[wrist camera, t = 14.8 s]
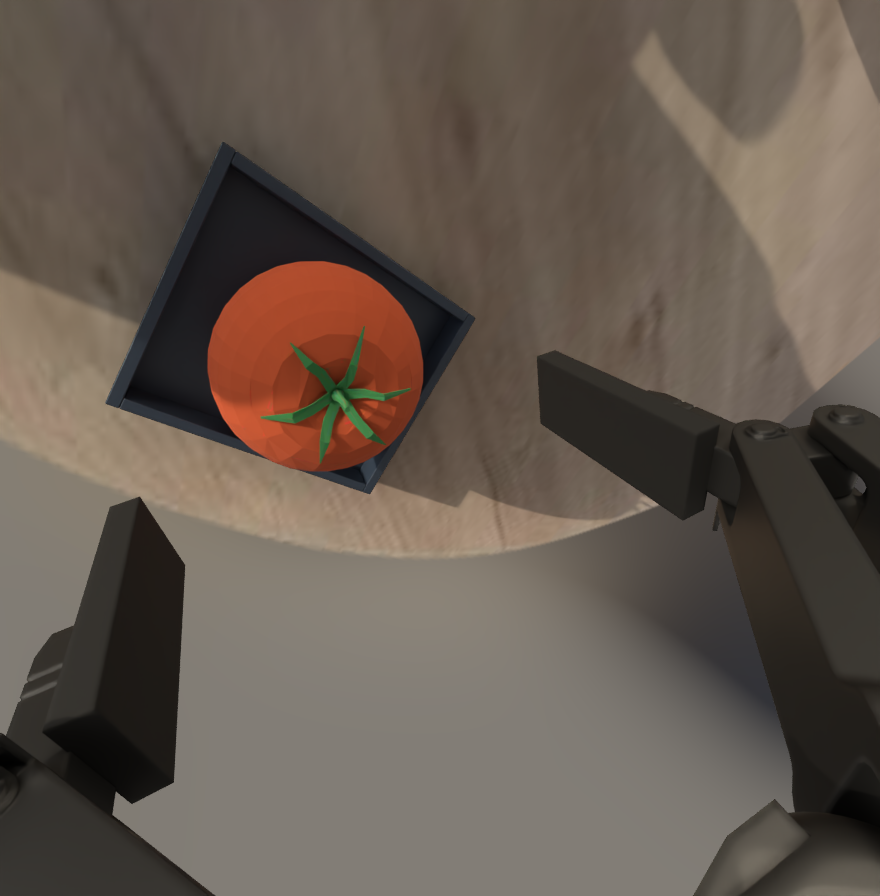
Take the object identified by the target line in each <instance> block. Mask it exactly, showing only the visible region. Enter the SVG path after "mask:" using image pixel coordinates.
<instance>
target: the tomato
mask: <svg viewBox="0 0 880 896" xmlns="http://www.w3.org/2000/svg"><path fill="white" fill-rule="evenodd" d="M208 376H209V381H210V386H211V391H212V394H213V397H214V399H215V401H216V404H217V406H218V408H219V410H220V413H221V415H222V417H223V419H224V420H225V421H226V423H227V424H228V425H229V427H230V428H231V430H232V431H233V432H234V434H235V435H236V436H237V437H238V438H240V439H241V440H242V441H243V442H244V443H245V444H246V445H247V446H248V447H250V448H251V449H252V450H254V451H256V452H257V453H259V454H261V455H262V456H264V457H266V458H267V459H269V460H271V461H272V462H275V463H277V464H280V465H283V466H286V467H288V468H292V469H298V470H304V471H332V470H338V469H344V468H348V467H351V466H354V465H357V464H360V463H362V462H365V461H367V460H368V459H370V458H372V457H374V456H376V455H377V454H379V453H380V452H381V451H383V450H384V449H385V448H386V447H388V446H389V445H390V444H391V443H392V442H393V441H394V440H395V439H396V438H397V437H398V436H399V435H400V433H401V432H402V431H403V430H404V428H405V427H406V425H407V423H408V422H409V420H410V419H411V417H412V415H413V413H414V411H415V408H416V406H417V404H418V401H419V399H420V394H421V389H422V384H423V359H422V353H421V348H420V342H419V338H418V336H417V333H416V330H415V328H414V325H413V323H412V321H411V319H410V318H409V316H408V314H407V313H406V311H405V310H404V308H403V307H402V305H401V304H400V303H399V302H398V301H397V300H396V299H395V298H394V297H393V296H392V295H391V294H390V293H389V292H388V291H387V290H386V289H385V288H384V287H383V286H382V285H381V284H379V283H378V282H376V281H375V280H374V279H372V278H371V277H369V276H368V275H366V274H364V273H362V272H360V271H357V270H355V269H352V268H350V267H348V266H345V265H340V264H335V263H330V262H325V261H300V262H294V263H290V264H285V265H281V266H277V267H274V268H272V269H270V270H268V271H266V272H264V273H261V274H259V275H257V276H256V277H254V278H253V279H252V280H250V281H249V282H248V283H246V284H245V285H244V286H242V287H241V288H240V289H239V290H238V291H237V292H236V293H235V295H234V296H233V297H232V298H231V299H230V301H229V302H228V303H227V304H226V305H225V307H224V308H223V310H222V312H221V314H220V316H219V318H218V320H217V322H216V324H215V326H214V328H213V332H212V335H211V339H210V343H209V347H208Z"/></svg>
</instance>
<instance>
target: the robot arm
mask: <svg viewBox="0 0 880 896" xmlns="http://www.w3.org/2000/svg"><path fill="white" fill-rule="evenodd" d="M537 368H538V386H539V404H540V422H541V424H542V425H544V426H545V427H547V428H548V429H549V430H551V431H552V432H554V433H555V434H557V435H558V436H560V437H561V438H563V439H564V440H566V441H567V442H568V443H570V444H571V445H573V446H574V447H576V448H577V449H579V450H580V451H582V452H583V453H585V454H586V455H588V456H589V457H590V458H592V459H593V460H595V461H596V462H598V463H599V464H601V465H602V466H604V467H605V468H607V469H608V470H609V471H611V472H612V473H614V474H615V475H617V476H618V477H620V478H621V479H623V480H624V481H626V482H627V483H629V484H630V485H631V486H633V487H634V488H636V489H637V490H639V491H640V492H642V493H643V494H645V495H646V496H648V497H649V498H650V499H652V500H653V501H655V502H656V503H658V504H659V505H661V506H662V507H664V508H665V509H667V510H668V511H670V512H671V513H672V514H674V515H676V516H677V517H678V518H680V519H681V520H685V519H687V518H689V517H690V516H693V515H694V514H696V513H698V512H700V511H702V510H704V506H705V501H706V496H707V492H709V493H711V494H712V495H714V496H716V497H717V498H718V503H717V507H716V512H715V517H714V522H713V531H717V529H718V525H719V524H720V523H721V525H722V528H723V532H724V535H725V539H726V542H727V545H728V549H729V552H730V555H731V559H732V562H733V566H734V569H735V572H736V576H737V579H738V582H739V586H740V589H741V592H742V596H743V599H744V603H745V606H746V609H747V613H748V616H749V620H750V623H751V626H752V630H753V633H754V636H755V640H756V643H757V647H758V650H759V653H760V657H761V660H762V663H763V666H764V670H765V673H766V677H767V680H768V683H769V687H770V690H771V694H772V697H773V701H774V704H775V707H776V710H777V714H778V717H779V721H780V724H781V728H782V731H783V734H784V738H785V741H786V744H787V748H788V751H789V754H790V759H791V763H792V771H793V776H792V777H793V778H792V795H793V804H794V809H795V812H793V813H787V812H786V811H785V810H784V808H783V807H782V806H781V805H780V804H779V803H778V802H777V801H776V800H775V799H774V800H773V801H772V802H771V803H769V804H768V805H767V806H765V807H764V808H763V809H761V810H760V811H759V812H758V813H757V814H755V815H754V816H752V817H751V818H750V819H749V820H747V821H746V822H745V823H743V824H742V825H741V826H740V827H738V828H737V829H736V830H734V831H733V832H732V833H731V834H729V835H728V836H727V837H726V839H725V841H724V842H723V844H722V846H721V848H720V849H719V851H718V853H717V855H716V856H715V858H714V860H713V862H712V864H711V865H710V867H709V869H708V870H707V872H706V874H705V876H704V878H703V880H702V881H701V883H700V885H699V886H698V888H697V890H696V892H695V893H694V895H693V896H880V418H879V417H878V416H876V415H875V414H873V413H870V412H868V411H866V410H864V409H860V408H857V407H855V406H850V405H847V406H845V405H827V406H823V407H819V408H818V409H816V410H815V411H814V412H813V416H812V419H811V422H810V425H808V426H802V427H797V428H792V429H789V428H787V427H785V426H783V425H781V424H779V423H775V422H771V421H767V420H746V421H743V422H740V423H737V424H735V423H733V422H730V421H728V420H726V419H723V418H721V417H719V416H716V415H714V414H712V413H709V412H707V411H705V410H703V409H700V408H698V407H695V408H694V407H693V405H691V404H689V403H686V402H682V401H681V400H679V399H677V398H675V397H672V396H670V395H668V394H664V393H659V392H654V391H649V390H648V391H645V390H643V389H640V388H638V387H636V386H634V385H631V384H629V383H627V382H625V381H622V380H620V379H618V378H616V377H614V376H611V375H609V374H607V373H605V372H602V371H600V370H598V369H596V368H593V367H591V366H589V365H587V364H584V363H582V362H580V361H578V360H575V359H573V358H571V357H569V356H566V355H564V354H562V353H560V352H558V351H555V350H554V351H552V352H549V353H546V354H543V355H540V356H537ZM858 476H859V477H861V478H862V480H863V481H864V483H865V485H866V487H867V488H866V490H865V492H864V493H863V494H862V493H860V492H859V491H858V490H857V489H856V488H855V487H854V486H855V484H856V481H857V479H858ZM184 578H185V564H184V563H183V561H182V560H181V558H180V557H179V555H178V554H177V552H176V551H175V549H174V548H173V546H172V545H171V543H170V542H169V540H168V539H167V537H166V535H165V534H164V532H163V531H162V530H161V528H160V526H159V525H158V523H157V522H156V520H155V519H154V518H153V516H152V514H151V513H150V511H149V510H148V508H147V507H146V505H145V504H144V502H143V501H142V499H141V498H140V497H137V498H135V499H132V500H129V501H126V502H123V503H120V504H118V505H115V506H112V507H110V509H109V512H108V515H107V519H106V522H105V525H104V528H103V532H102V535H101V538H100V542H99V545H98V548H97V552H96V555H95V558H94V561H93V565H92V568H91V571H90V575H89V578H88V581H87V585H86V588H85V591H84V595H83V598H82V601H81V604H80V608H79V611H78V614H77V618H76V621H75V624H74V626H71V627H69V628H66V629H64V630H61V631H59V632H57V633H54V634H52V635H51V637H50V638H49V639H48V641H47V642H46V643H45V645H44V646H43V647H42V649H41V650H40V651H39V652H38V654H37V655H36V657H35V658H34V661H33V664H32V666H31V669H30V672H29V674H28V677H27V681H28V683H26V684H25V685H24V688H23V691H22V694H21V696H20V698H21V701H20V702H18V704H17V707H16V710H15V713H14V715H13V718H12V721H11V723H10V726H9V729H8V732H7V734H6V736H5V735H4V734H2V733H0V896H215V895H214V894H212V893H211V892H210V891H209V890H207V889H206V888H205V887H204V886H202V885H201V884H200V883H198V882H197V881H196V880H195V879H193V878H192V877H191V876H189V875H188V874H187V873H186V872H185V871H183V870H182V869H181V868H179V867H178V866H177V865H176V864H174V863H173V862H172V861H170V860H169V859H168V858H167V857H165V856H164V855H163V854H162V853H160V852H159V851H157V849H155V848H154V847H153V846H152V845H150V844H149V843H148V842H146V841H145V840H144V839H143V838H141V837H140V836H139V835H137V834H136V833H135V832H134V831H132V830H131V829H130V828H129V827H127V826H126V825H125V824H124V823H122V822H121V821H120V820H118V819H117V818H116V817H114V816H113V815H112V813H113V806H114V799H115V793H116V792H117V793H119V794H120V795H121V796H123V797H124V798H125V799H126V800H127V801H129V802H130V803H131V804H133V803H135V802H137V801H139V800H141V799H142V798H144V797H146V796H148V795H150V794H152V793H154V792H156V791H158V790H160V789H162V788H164V787H166V786H168V785H170V784H172V783H173V782H174V768H175V749H176V730H177V729H176V728H177V711H178V710H177V709H178V692H179V673H180V653H181V634H182V616H183V615H182V614H183V597H184Z"/></svg>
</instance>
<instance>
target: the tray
mask: <svg viewBox="0 0 880 896" xmlns="http://www.w3.org/2000/svg"><path fill="white" fill-rule="evenodd" d="M300 261H325V262H330V263H335V264H340V265H345V266H348V267H350V268H352V269H355V270H357V271H360V272H362V273H364V274H366V275H368V276H369V277H371V278H372V279H374V280H375V281H376V282H378V283H379V284H381V285H382V286H383V287H384V288H385V289H386V290H387V291H388V292H389V293H390V294H391V295H392V296H393V297H394V298H395V299H396V300H397V301H398V302H399V303H400V304H401V305H402V307H403V308H404V310H405V311H406V313H407V314H408V316H409V318H410V319H411V321H412V323H413V325H414V328H415V330H416V333H417V336H418V338H419V342H420V348H421V353H422V359H423V384H422V389H421V394H420V399H419V401H418V404H417V406H416V408H415V411H414V413H413V415H412V417H411V419H410V420H409V422H408V423H407V425H406V427H405V428H404V430H403V431H402V432H401V433H400V435H399V436H398V437H397V438H396V439H395V440H394V441H393V442H392V443H391V444H390V445H389V446H388V447H386V448H385V449H384V450H383V451H381V452H380V453H379V454H377V455H376V456H374V457H372V458H370V459H368V460H367V461H365V462H362V463H360V464H357V465H354V466H351V467H348V468H344V469H338V470H332V471H304V470H300V471H303V472H306V473H309V474H312V475H315V476H318V477H321V478H324V479H326V480H329V481H332V482H335V483H338V484H341V485H344V486H347V487H350V488H353V489H356V490H359V491H361V492H364V493H367V494H370V493H371V492H372V490H373V488H374V487H375V485H376V483H377V482H378V480H379V478H380V477H381V475H382V473H383V472H384V470H385V468H386V467H387V465H388V463H389V462H390V460H391V458H392V457H393V455H394V453H395V452H396V450H397V448H398V447H399V445H400V443H401V442H402V440H403V438H404V437H405V435H406V433H407V432H408V430H409V428H410V427H411V425H412V423H413V422H414V420H415V418H416V417H417V415H418V413H419V412H420V410H421V409H422V407H423V405H424V404H425V402H426V400H427V399H428V397H429V395H430V394H431V392H432V390H433V389H434V387H435V385H436V384H437V382H438V380H439V379H440V377H441V375H442V374H443V372H444V370H445V369H446V367H447V365H448V364H449V362H450V360H451V359H452V357H453V355H454V354H455V352H456V350H457V349H458V347H459V345H460V344H461V342H462V340H463V339H464V337H465V335H466V334H467V332H468V330H469V329H470V327H471V325H472V324H473V322H474V320H475V317H473V316H472V315H470V314H469V313H467V312H466V311H465V310H463V309H462V308H460V307H459V306H457V305H456V304H455V303H453V302H452V301H450V300H449V299H447V298H446V297H445V296H443V295H442V294H440V293H439V292H437V291H436V290H435V289H433V288H432V287H430V286H429V285H427V284H426V283H425V282H423V281H422V280H420V279H419V278H417V277H416V276H415V275H413V274H412V273H410V272H409V271H407V270H406V269H405V268H403V267H402V266H400V265H399V264H397V263H396V262H395V261H393V260H392V259H390V258H389V257H387V256H386V255H385V254H383V253H382V252H380V251H379V250H377V249H376V248H375V247H373V246H372V245H370V244H369V243H367V242H366V241H365V240H363V239H362V238H360V237H359V236H357V235H356V234H355V233H353V232H352V231H350V230H349V229H347V228H346V227H345V226H343V225H342V224H340V223H339V222H337V221H336V220H335V219H333V218H332V217H330V216H329V215H327V214H326V213H325V212H323V211H322V210H320V209H319V208H317V207H316V206H315V205H313V204H312V203H310V202H309V201H307V200H306V199H305V198H303V197H302V196H300V195H299V194H297V193H296V192H295V191H293V190H292V189H290V188H289V187H287V186H286V185H285V184H283V183H282V182H280V181H279V180H277V179H276V178H275V177H273V176H272V175H270V174H269V173H267V172H266V171H265V170H263V169H262V168H260V167H259V166H257V165H256V164H255V163H253V162H252V161H250V160H249V159H247V158H246V157H245V156H243V155H242V154H240V153H239V152H236V151H235V149H233V148H232V147H230V146H229V145H228V144H226V143H225V142H222V143H221V145H220V147H219V150H218V152H217V154H216V156H215V158H214V161H213V163H212V165H211V167H210V170H209V172H208V174H207V176H206V179H205V181H204V183H203V185H202V187H201V190H200V192H199V194H198V196H197V199H196V201H195V203H194V205H193V208H192V210H191V212H190V214H189V217H188V219H187V221H186V223H185V225H184V228H183V230H182V232H181V234H180V237H179V239H178V241H177V243H176V246H175V248H174V250H173V252H172V254H171V257H170V259H169V261H168V263H167V266H166V268H165V270H164V272H163V275H162V277H161V279H160V281H159V284H158V286H157V288H156V290H155V292H154V295H153V297H152V299H151V301H150V304H149V306H148V308H147V310H146V313H145V315H144V317H143V319H142V322H141V324H140V326H139V328H138V330H137V333H136V335H135V337H134V339H133V342H132V344H131V346H130V348H129V351H128V353H127V355H126V357H125V359H124V362H123V364H122V366H121V368H120V371H119V373H118V375H117V377H116V380H115V382H114V384H113V386H112V389H111V391H110V393H109V395H108V397H107V400H106V402H105V403H106V404H108V405H111V406H114V407H116V408H119V407H120V409H122V410H125V411H128V412H131V413H134V414H137V415H140V416H143V417H146V418H149V419H152V420H154V421H157V422H160V423H163V424H166V425H169V426H172V427H175V428H178V429H181V430H184V431H187V432H189V433H192V434H195V435H198V436H201V437H204V438H207V439H210V440H213V441H216V442H219V443H222V444H224V445H227V446H230V447H233V448H236V449H239V450H242V451H245V452H248V453H251V454H254V455H256V456H259V457H262V458H265V459H267V458H266V457H264V456H262V455H261V454H259V453H257V452H256V451H254V450H252V449H251V448H250V447H248V446H247V445H246V444H245V443H244V442H243V441H242V440H241V439H240V438H238V437H237V436H236V435H235V434H234V432H233V431H232V430H231V428H230V427H229V425H228V424H227V423H226V421H225V420H224V419H223V417H222V415H221V413H220V410H219V408H218V406H217V404H216V401H215V399H214V397H213V394H212V391H211V386H210V381H209V376H208V347H209V343H210V339H211V335H212V332H213V328H214V326H215V324H216V322H217V320H218V318H219V316H220V314H221V312H222V310H223V308H224V307H225V305H226V304H227V303H228V302H229V301H230V299H231V298H232V297H233V296H234V295H235V293H236V292H237V291H238V290H239V289H240V288H241V287H242V286H244V285H245V284H246V283H248V282H249V281H250V280H252V279H253V278H254V277H256V276H257V275H259V274H261V273H264V272H266V271H268V270H270V269H272V268H274V267H277V266H281V265H285V264H290V263H294V262H300ZM268 460H269V459H268ZM297 470H298V469H297Z"/></svg>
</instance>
